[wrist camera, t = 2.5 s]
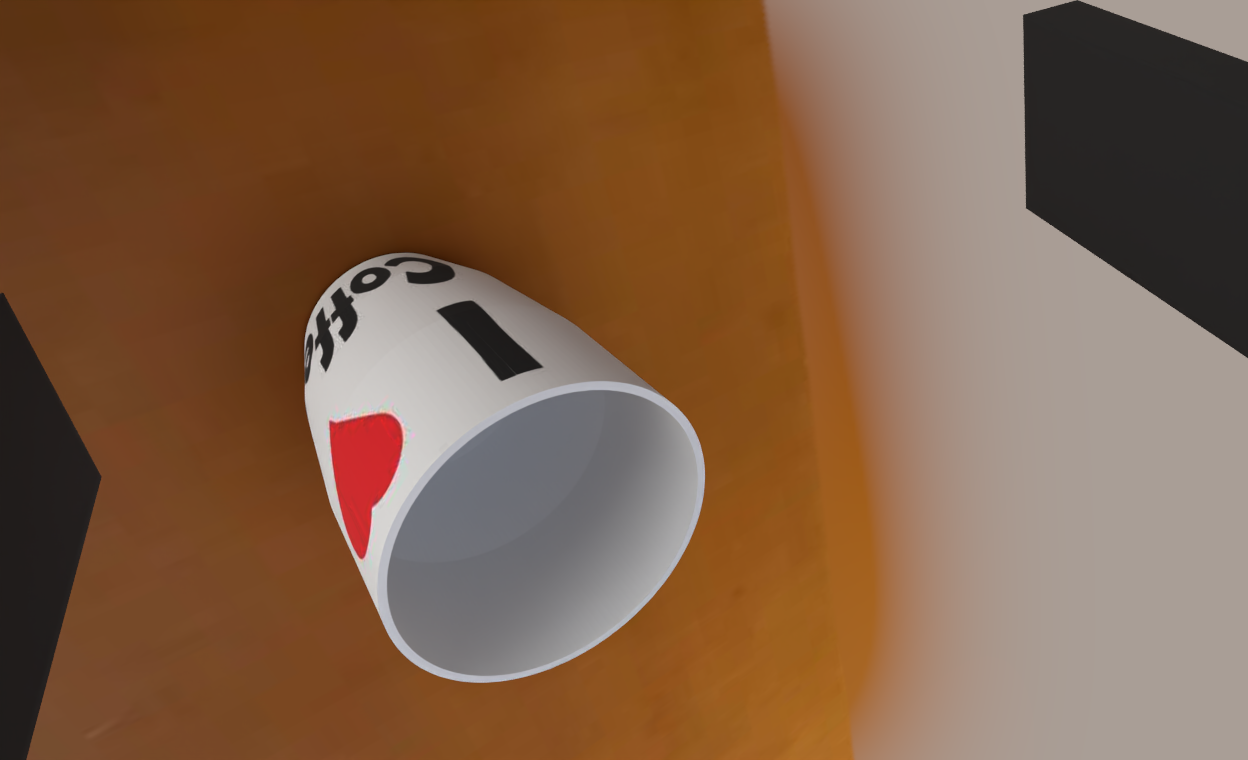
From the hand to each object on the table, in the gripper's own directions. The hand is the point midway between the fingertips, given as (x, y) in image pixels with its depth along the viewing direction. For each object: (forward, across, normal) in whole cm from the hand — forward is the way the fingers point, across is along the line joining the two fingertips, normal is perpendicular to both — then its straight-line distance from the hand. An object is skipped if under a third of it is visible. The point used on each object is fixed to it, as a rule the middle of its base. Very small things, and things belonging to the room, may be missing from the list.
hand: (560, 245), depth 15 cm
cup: (+17, -4, -9) cm, 19 cm away
